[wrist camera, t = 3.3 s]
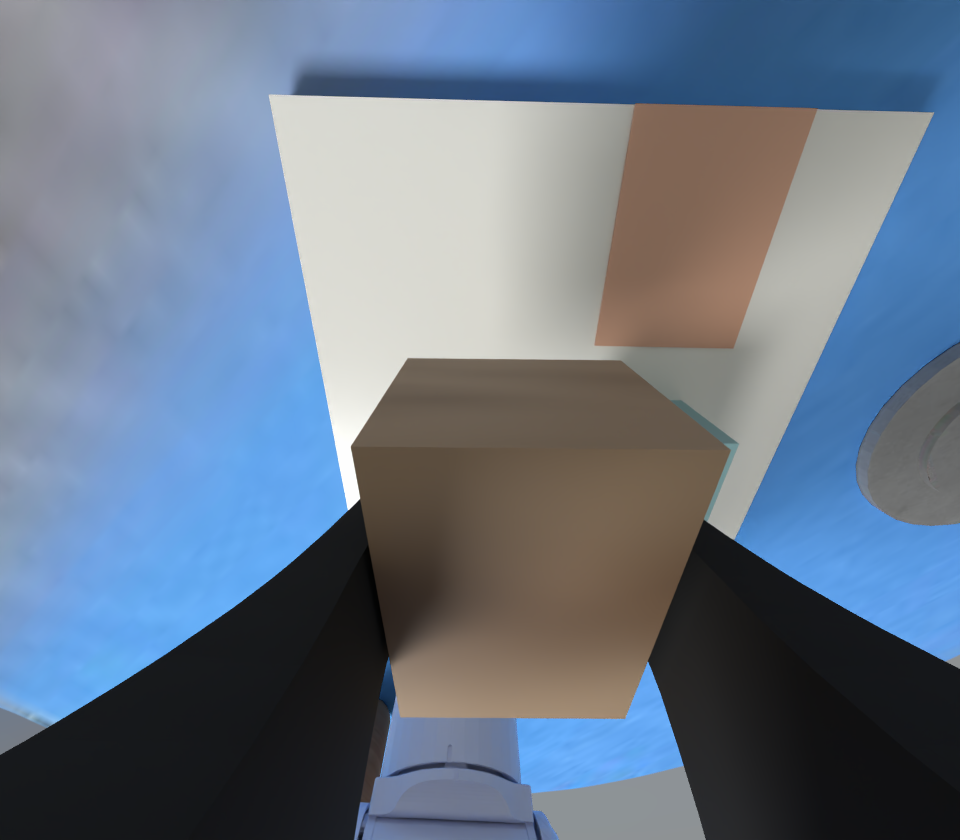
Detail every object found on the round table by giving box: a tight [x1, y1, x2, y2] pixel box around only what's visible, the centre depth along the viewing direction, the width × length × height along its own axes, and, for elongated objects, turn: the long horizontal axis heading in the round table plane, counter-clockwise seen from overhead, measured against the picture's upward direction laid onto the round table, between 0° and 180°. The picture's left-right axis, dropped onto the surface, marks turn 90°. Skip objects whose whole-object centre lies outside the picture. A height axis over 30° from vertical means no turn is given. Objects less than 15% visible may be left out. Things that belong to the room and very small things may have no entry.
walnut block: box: [351, 358, 731, 719], centre depth 8 cm, size 7×5×4 cm
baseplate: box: [269, 95, 934, 540], centre depth 17 cm, size 21×22×1 cm
